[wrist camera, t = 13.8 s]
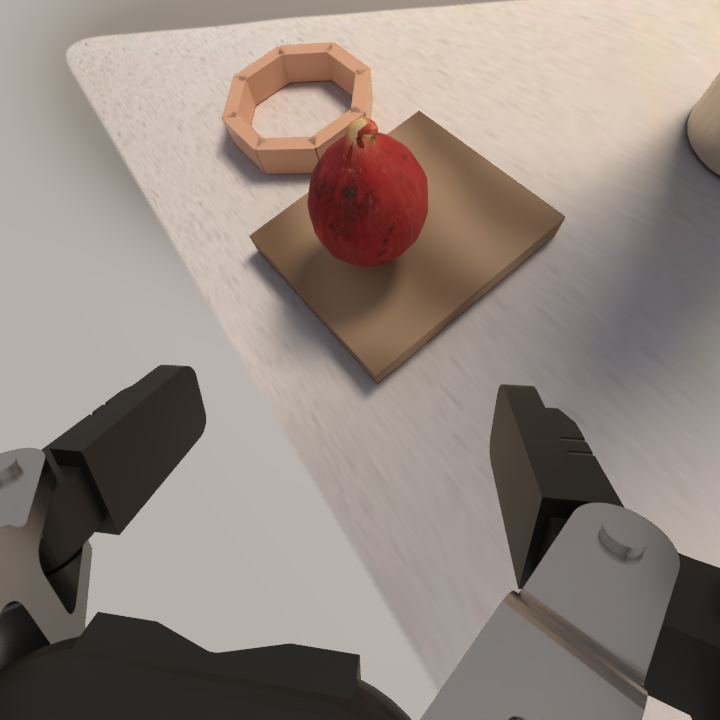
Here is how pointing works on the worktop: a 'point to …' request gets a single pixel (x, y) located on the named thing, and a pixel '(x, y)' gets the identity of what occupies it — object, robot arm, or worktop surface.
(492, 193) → the walnut board
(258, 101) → the ring holder
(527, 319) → the worktop surface
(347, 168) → the onion
